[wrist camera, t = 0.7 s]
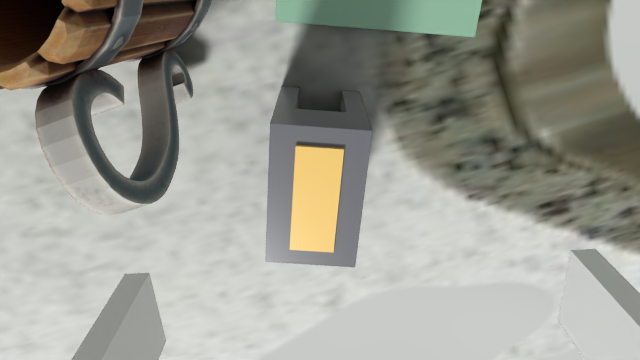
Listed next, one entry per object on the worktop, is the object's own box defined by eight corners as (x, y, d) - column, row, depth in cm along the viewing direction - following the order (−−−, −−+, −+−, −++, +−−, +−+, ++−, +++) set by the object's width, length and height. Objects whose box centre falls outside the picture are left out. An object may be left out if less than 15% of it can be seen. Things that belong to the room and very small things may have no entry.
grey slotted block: (276, 197, 34) (265, 263, 26) (281, 86, 30) (269, 124, 23) (346, 202, 34) (355, 269, 26) (359, 91, 30) (372, 132, 23)
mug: (-4, -104, 26) (-366, -187, 12) (170, -182, 25) (-17, -372, 11) (133, 148, 32) (-6, 283, 18) (278, 97, 31) (247, 202, 17)
